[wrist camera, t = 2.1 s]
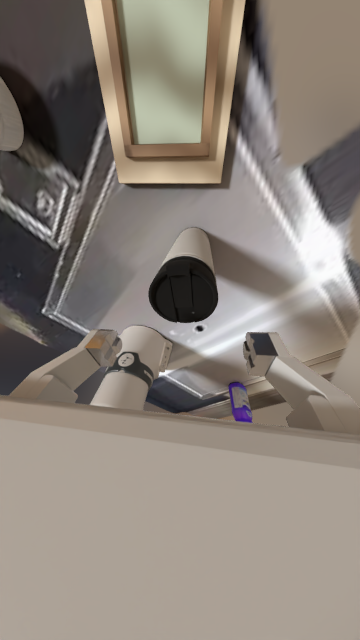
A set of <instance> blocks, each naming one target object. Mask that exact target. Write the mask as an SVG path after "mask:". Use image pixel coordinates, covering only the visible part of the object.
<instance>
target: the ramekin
mask: <svg viewBox="0 0 360 640" xmlns="http://www.w3.org/2000/svg"><path fill="white" fill-rule="evenodd" d="M23 138H24V129H23V123H22V119H21V115H20V112H19V109H18V107H17V105H16V102H15V100H14V98H13V96H12V94H11V92H10V91H9V89H8V87H7V86H6V84H5V83H4V81H3V80H2V78H1V77H0V150H4V151H14V150H17V149H18V148H19V147H20V146H21V145H22V142H23Z"/></svg>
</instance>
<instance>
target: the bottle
mask: <svg viewBox="0 0 360 640" xmlns="http://www.w3.org/2000/svg"><path fill="white" fill-rule="evenodd" d="M229 394H230V400H231V407H232V413H233V416H234V418H235V420H236V421H240V422H249V423H252V413H251V409H250V404H249V400H248V396H247V391H246V388H245V387H244V386H243V385H242V384H240V383H232V384H230V385H229Z"/></svg>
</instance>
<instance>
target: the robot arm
mask: <svg viewBox="0 0 360 640" xmlns="http://www.w3.org/2000/svg"><path fill="white" fill-rule="evenodd" d="M172 346H173V344H172V343H171V342H170V341H168V340H166V339H165V338H163V337H162V336H161V335H160V334H159V333H158V332H157V331H155V330H153V329H151V328H148V327H145V326H131V327H128V328H126V329H125V330H124V331H123V332H122V334H121V335H119V336H118V333H117V331H116V330H105V329H93V330H91V331H90V332H89V333H88V335H87V336H86V337H85V338H84V339H83V340H82V342H81V343H80V344H79V345H78V346H77V348H73V349H71V350H70V351H68V352H66V353H64V354H63V355H61V356H59V357H58V358H56V359H54V360H52V361H51V362H49V363H47V364H45V365H44V366H42V367H40V368H39V369H37V370H35V371H33V372H32V373H30V375H29V376H28V377H27V378H26V379H25V380H24V381H23V382H22V383H21V384H20V385H19V386H18V387H17V388H16V389H15V390H14V391H13V392H12V393H11V394H10V395H9V396H4V395H0V640H360V408H359V407H358V406H357V404H356V403H355V402H354V400H353V399H352V398H351V397H350V396H349V395H347V394H346V393H344V392H343V391H342V390H340V389H338V388H337V387H336V386H334V385H333V384H332V383H330V382H329V381H328V380H326V379H325V378H323V377H322V376H320V375H319V374H318V373H316V372H315V371H313V370H312V369H311V368H309V367H308V366H306V365H305V364H303V363H302V362H301V361H299V360H298V359H296V358H295V357H291V356H290V354H289V352H288V350H287V348H286V347H285V345H284V343H283V341H282V339H281V338H280V336H279V334H278V333H277V332H267V333H266V332H247V334H246V341H245V342H244V344H243V355H244V358H245V359H246V360H247V363H246V367H247V371H248V375H254V376H265V378H266V379H267V380H268V381H269V382H270V383H271V385H272V386H273V387H274V388H275V389H276V390H277V391H278V392H279V393H280V395H281V396H282V397H283V398H284V399H285V400H286V401H287V402H288V403H289V405H290V406H291V407H292V408H293V409H294V410H293V411H292V412H291V413H290V414H289V415H288V416H287V417H286V420H287V423H288V426H289V427H284V426H276V425H267V424H258V423H249V422H240V421H231V420H221V419H213V418H203V417H194V416H184V415H176V414H167V413H158V412H149V411H143V407H144V403H145V399H146V396H147V392H148V391H149V389H150V387H151V386H152V383H153V380H154V379H157V378H158V376H159V372H165V369H166V368H167V364H168V361H169V357H170V353H171V349H172ZM100 366H108V367H107V369H106V371H105V374H104V379H103V381H102V383H101V385H100V387H99V389H98V391H97V393H96V395H95V396H94V398H93V400H92V402H91V404H90V405H86V404H77V403H75V401H76V399H77V397H78V395H77V394H76V393H75V392H73V390H75V389H76V388H77V387H78V386H79V385H80V384H81V383H83V382H84V381H85V380H86V379H87V378H88V377H89V376H90V375H92V374H93V373H94V372H95V371H96V370H97V369H98V368H100Z"/></svg>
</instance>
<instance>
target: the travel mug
mask: <svg viewBox="0 0 360 640" xmlns="http://www.w3.org/2000/svg"><path fill="white" fill-rule="evenodd" d="M149 301H150V304H151V306H152V307H153V309H154V310H155V312H157V313H158V314H159V315H160V316H161V317H163V318H164V319H166V320H168V321H172V322H176V323H177V322H180V323H191V322H194V321H195V322H199V321H202V320H204V319H206V318H207V317H209V316H210V315H211V314H212V313H213V311H214V310H215V308H216V306H217V303H218V292H217V286H216V277H215V271H214V265H213V260H212V254H211V248H210V243H209V239H208V236H207V234H206V233H205V232H204V231H203V230H202V229H200V228H197V227H190V228H187V229H185V230H184V231H182V232H181V234H180V235H179V236H178V238H177V240H176V242H175V243H174V245H173V247H172V248H171V250H170V252H169V253H168V255H167V257H166V258H165V260H164V262H163V263H162V265H161V267H160V268H159V270H158V272H157V275H156V276H155V278H154V280H153V282H152V283H151V285H150V288H149Z"/></svg>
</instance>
